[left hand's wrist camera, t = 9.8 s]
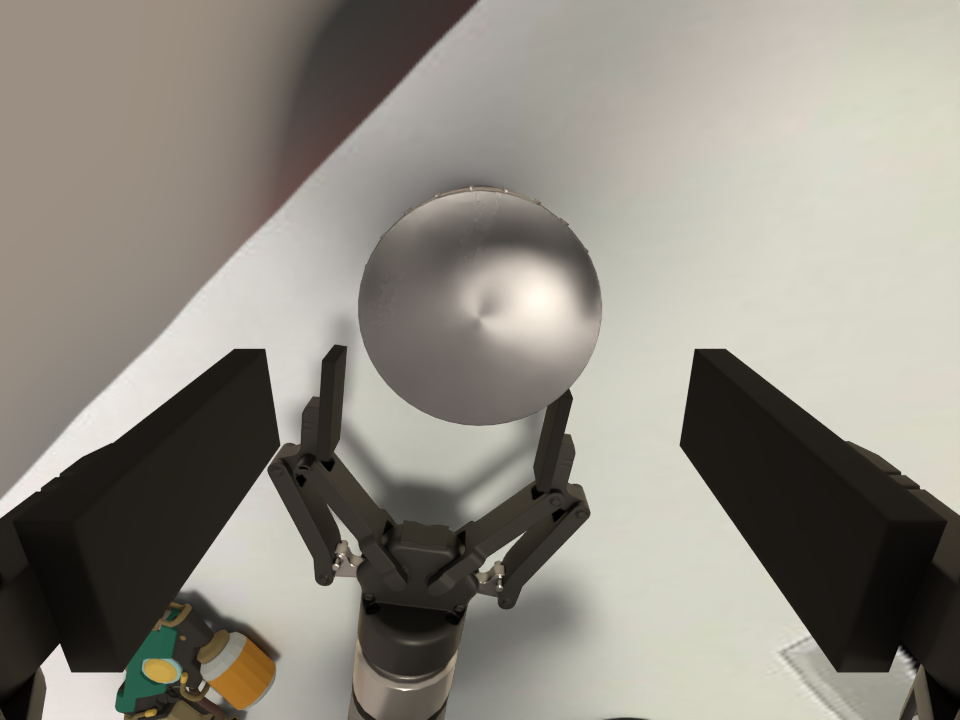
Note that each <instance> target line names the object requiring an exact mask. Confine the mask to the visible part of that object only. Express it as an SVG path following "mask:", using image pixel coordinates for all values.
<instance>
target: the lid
mask: <svg viewBox="0 0 960 720" xmlns="http://www.w3.org/2000/svg"><path fill="white" fill-rule="evenodd" d="M404 214H405V215H404V216H403V217H402V218H401V219H400V220H399V221H398V222H396V223H395V224H394V225H393V226H392V227H391V228H390V229H389V230H388V231H387V232H386V233H384V234H383V235H382V236H381V237H380V238H381V240H380V241H379V243H378V244H377V246H376V248H375V249H374V251H373V253H372V254H371V256H370V259H369V261H368V263H367V264H366V265H365V270H364V274H363V277H362V281H361V285H360V292H359V299H358V317H359V324H360V331H361V335H362V338H363V342H364V346H365V348H366V350H367V353H368V355H369V357H370V360H371V361H372V363H373V365H374V366H375V368H376V370H377V372H378V373H379V374H380V376H381V377H382V378H383V379H384V381H385V382H386V383H387V385H388V386H389V387H390V388H391V389H392V390H393V391H394V392H395V393H396V394H397V395H399V396H400V397H401V398H403V399H404V400H405V401H406V402H408V403H409V404H410V405H412V406H414V407H415V408H417V409H419V410H420V411H422V412H424V413H427V414H429V415H431V416H433V417H435V418H439V419H442V420H445V421H448V422H453V423H458V424H463V425H476V426H481V425H496V424H502V423H508V422H511V421H515V420H518V419H522V418H524V417H527V416H529V415H531V414H534V413H536V412H538V411H539V410H541V409H543V408H545V407H546V406H548V405H549V404H551V403H552V402H554V401H555V400H556V399H558V398H559V397H560V396H561V395H562V394H563V393H564V392H565V391H567V390H568V389H569V388H570V387H571V386H572V384H573V383H574V382H575V381H576V379H577V378H578V377H579V376H580V374H581V373H582V371H583V370H584V368H585V366H586V365H587V363H588V361H589V359H590V357H591V355H592V353H593V351H594V348H595V345H596V342H597V339H598V335H599V330H600V324H601V314H602V301H601V291H600V285H599V280H598V277H597V273H596V271H595V268H594V266H593V263H592V261H591V258H590V256H589V255H588V250H587V249H586V248H585V247H584V246H583V244H582V243H581V242H580V240H579V239H578V238H577V236H576V235H575V234H574V232H573V231H572V230H571V229H570V228H569V227H568V225H569V224H568V223H567V222H566V221H564V220H563V219H561V218H560V219H559V218H558V217H557V216H555V215H554V214H553V213H551V212H550V211H549V210H547V209H546V208H545V207H543V206H542V205H541V203H540V202H539V201H538V200H536V199H534V201H533V200H531V199H529V198H527V197H525V196H522V195H520V194H517V193H514V192H511V191H508V190H507V189H506V188H504V187H503V190H502V189H498V188H487V187H474V188H473V185H470V187H469V188H463V189H458V190H453V191H449V192H446V193H443V194H441V193H440V192H439V193H437V194H436V195H435V197H433V198H431V199H429V200H427V201H425V202H423V203H421V204H420V205H418V206H417V207H416V208H414V209H412V208H410V209H409V210H407V211H406V212H405V213H404Z"/></svg>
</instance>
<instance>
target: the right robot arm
mask: <svg viewBox="0 0 960 720" xmlns="http://www.w3.org/2000/svg"><path fill="white" fill-rule="evenodd" d="M346 354H347V346H341V345H334V346H333V347H332V349H331V350H330V351H329V352H328V354H327V355H326V356H325V357H324V359H323V360H322V371H321V387H320V397H314V396H313V397H312V398H311V400H310V401H309V403H308V404H307V406H306V407H305V409H304V411H303V413H302V429H301V444H299V445H295V444H293V443H286V444H284V445H283V446H282V448H281V449H280V451H279V452H278V453H277V455H276V456H275V458H274V459H273V461H272V462H271V464H270V465H269V467H268V470H267V471H268V474H269V476H270V478H271V480H272V482H273V484H274V485H275V487H276V489H277V491H278V493H279V495H280V497H281V499H282V500H283V502H284V504H285V506H286V508H287V510H288V512H289V514H290V516H291V517H292V519H293V521H294V523H295V525H296V527H297V529H298V531H299V532H300V534H301V536H302V538H303V540H304V542H305V544H306V546H307V548H308V549H309V551H310V553H311V555H312V557H313V559H314V571H315V580H316V582H317V583H318V584H320V585H322V586H328V585H330V584H331V583H332V582H333V580H334V577H335V576H340V577H357V580H358V581H359V583H360V585H361V588H362V595H361V604H360V614H359V623H358V636H357V640H356V650H355V661H354V672H353V682H352V694H351V701H350V707H349V714H348V720H444V717H445V711H446V705H447V699H448V696H449V691H450V688H451V685H452V680H453V675H454V670H455V665H456V660H457V654H458V648H459V644H460V640H461V635H462V630H463V625H464V620H465V616H466V611H467V606H468V603H469V601H470V600H471V598H472V597H473V596H475V595H476V593H479V594H484V595H489V596H493V597H498V605H499V607H501V608H502V609H511V608H512V607H514V605H515V603H516V601H517V599H518V596H519V594H520V591H521V589H522V586H523V585H524V584H525V583H526V582H527V581H528V580H529V579H530V578H531V577H532V576H533V575H534V574H535V573H536V572H537V571H538V570H539V569H540V568H541V567H542V566H543V565H544V564H545V562H546V561H547V560H548V559H549V558H550V557H551V556H552V555H553V554H554V553H555V552H556V551H557V550H558V549H559V548H560V547H561V546H562V545H563V544H564V543H565V542H566V541H567V540H568V539H569V538H570V537H571V536H572V535H573V534H574V533H575V531H576V530H577V529H578V528H579V527H580V526H581V525H582V524H583V523H584V522H585V521H586V520H587V519H588V518H589V516H590V509H589V506H588V503H587V500H586V496H585V493H584V490H583V487H582V486H581V485H579V484H570V483H568V480H569V476H570V472H571V468H572V465H573V461H574V457H575V448H574V444H573V441H572V438H571V435H570V434H564V432H565V428H566V424H567V420H568V416H569V412H570V408H571V404H572V401H573V397H572V395H571V392H570V389H568V390H567V391H565V392H564V393H563V394H562V395H561V396H560V397H559V398H558V399H556V400H555V401H554V402H552V403H551V404H549V405H548V406H547V410H546V415H545V419H544V423H543V427H542V432H541V436H540V440H539V444H538V449H537V453H536V457H535V462H534V466H533V468H534V474H535V481H534V482H532V483H531V484H529V485H528V486H527V487H525V488H524V489H522V490H521V491H519V492H518V493H517V494H515V495H514V496H512V497H511V498H509V499H508V500H507V501H505V502H504V503H502V504H501V505H499V506H498V507H497V508H495V509H494V510H492V511H491V512H489V513H488V514H487V515H485V516H484V517H482V518H481V519H479V520H478V521H476V522H473V521H470V522H469V523H467V524H466V525H464V526H463V527H461V528H460V529H459V530H457V531H456V532H452V531H450V530H449V526H441V525H432V526H425V525H422V524H419V523H417V522H412V521H404V524H400V525H397V524H396V523H395V522H394V520H393V519H392V518H391V517H390V515H389V514H388V513H387V512H386V510H384V509H379V508H378V506H377V505H376V504H375V503H374V501H373V500H372V499H371V498H370V496H369V495H368V494H367V493H366V492H365V490H364V489H363V488H362V487H361V485H360V484H359V483H358V482H357V480H356V479H355V478H354V477H353V475H352V474H351V473H350V472H349V470H348V469H347V468H346V467H345V465H344V464H343V463H342V462H341V460H340V459H339V458H338V457H337V455H336V454H335V453H334V450H335V448H336V446H337V444H338V442H339V440H340V431H341V418H342V405H343V392H344V379H345V366H346ZM326 503H327V504H328V506H329V507H330V508H331V509H332V510H333V511H334V513H335V514H336V515H337V516H338V517H339V519H340V520H341V521H342V522H343V523H344V525H345V526H346V527H347V528H348V529H349V530H350V532H351V533H352V534H353V535H354V536H355V538H356V539H357V540H358V543H359V548H360V550H361V552H362V553H363V554H362V555H361V557H359V556H355V555H354V554H352V553H351V551H350V548H349V547H348V542H347V541H346V540H341V535H340V532H339V529H338V526H337V524H336V522H335V520H334V518H333V516H332V514H331V512H330V510H329V508H328V506H327V504H326ZM525 531H526V532H525ZM524 532H525V533H524ZM522 533H524V535H523V536H522V537H521V538H520V539H519V540H518V541H517V542H516V543H515V544H514V545H513V546H512V547H511V549H510V550H509V551H508V552H507V554H506V555H505V557H504V559H503V561H502V562H501V561H496V562H495V563H494V566H493V567H492V568H491V569H490V571H488V572H486V573H480V572H479V568H480V567H481V566H482V565H483V564H484V562H485V560H486V558H487V557H488V556H490V555H491V554H493V553H494V552H496V551H497V550H499V549H500V548H502V547H503V546H505V545H506V544H508V543H509V542H511V541H512V540H514V539H515V538H517V537H518V536H520V535H521V534H522Z"/></svg>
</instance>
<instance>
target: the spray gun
mask: <svg viewBox="0 0 960 720" xmlns="http://www.w3.org/2000/svg"><path fill="white" fill-rule="evenodd" d="M172 608H176V609H173V611H171V609H172ZM178 609H179V610H182V611H181V612H180V613H179V611H178ZM191 609H192V607H191V605H189V604H188V603H186V604H184V605H181V604H177V603H174V602H171V603H170V605H169V606H168V608H167V609H166V611H165V612H164V614H163V615H162V616H161V618H160V619H159V621H158V622H157V624H156V625H155V626H154V628H153V629H152V631H151V632H150V634H149V635H148V637H147V638H146V639H145V641H144V642H143V644H142V645H141V647H140V648H139V649H138V651H137V652H136V654H135V655H134V657H133V658H132V660H131V661H130V662H129V664H128V665H127V667H126V669H125V670H126V671H127V674H126V680H125V681H124V682H123V684H122V685H121V686H120V688H119V689H118V692H117V697H116V704H115V708H116V710H117V711H118V712H120V713H124V714H125V715H124V720H239V718H238V717H237V716H233V717H232V718H231V719H227V718H226V714H225V713H224V712H223V710H222V709H221V708H220V707H219V706H217V705H216V704H214V703H212V702H211V701H210V700H208V699H207V698H206V697H204V696H205V694H206V693H207V692H208V690H209V688H210V685H211V686H212V687H213V688H214V689H215V690H216V691H217V692H218V693H219V694H220V695H222V696H223V697H224V698H225V699H226V700H227V701H228V702H229V703H230V704H231V705H232V706H233V707H235V708H236V709H237V710H244V709H247V708H249V707H251V706H253V705H255V704H256V703H258V702H259V701H260V700H261V699H262V698H263V697H264V696H265V694H266V693H267V692H268V691H269V689H270V688H271V686H272V685H273V683H274V680H275V675H276V665H275V663H274V662H273V661H272V660H271V659H270V658H269V657H268V656H267V655H265V654H264V653H263V652H262V651H261V650H260V649H259V648H258V647H257V646H256V645H255V644H254V643H252V642H251V641H250V640H249V639H248V638H247V637H246V636H244V635H243V634H240V633H238V632H233V633H228V632H227V631H226V630H224V629H223V630H219V631H218V632H216V633H213V632H212V630H211V629H210V628H209V627H208V626H207V625H206V624H205V622H204V621H203V620H202V619H201V618H200V617H199V616H198V615H197V614H196V613H195V612H194V611H193V610H191ZM200 646H201V648H200V650H199V652H198V647H200ZM202 680H205V681H206V684H205V686H204V688H203V690H202V691H201V692H200V691H199V689H198V687H199V685H200V683H201V681H202ZM172 686H180V693H181V695H182V696H183V697H184V698H186V699H188V700H190V701H194V702H196V703H197V704H199V705H200V706H201V707H202V708H204V709H205V710H207V711H208V712H210V713H212V714H206V715H202V714H201V713H199V712H198V711H196V710H195V709H194V708H192V707H191V706H189V705H188V704H187V703H185V702H184V701H183V700H181V698H182V696H181V695H180V694H178V693H175V694H173V693H172V692H171V691H170V688H169V687H172ZM186 687H189V692H188V691H187V690H186Z"/></svg>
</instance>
